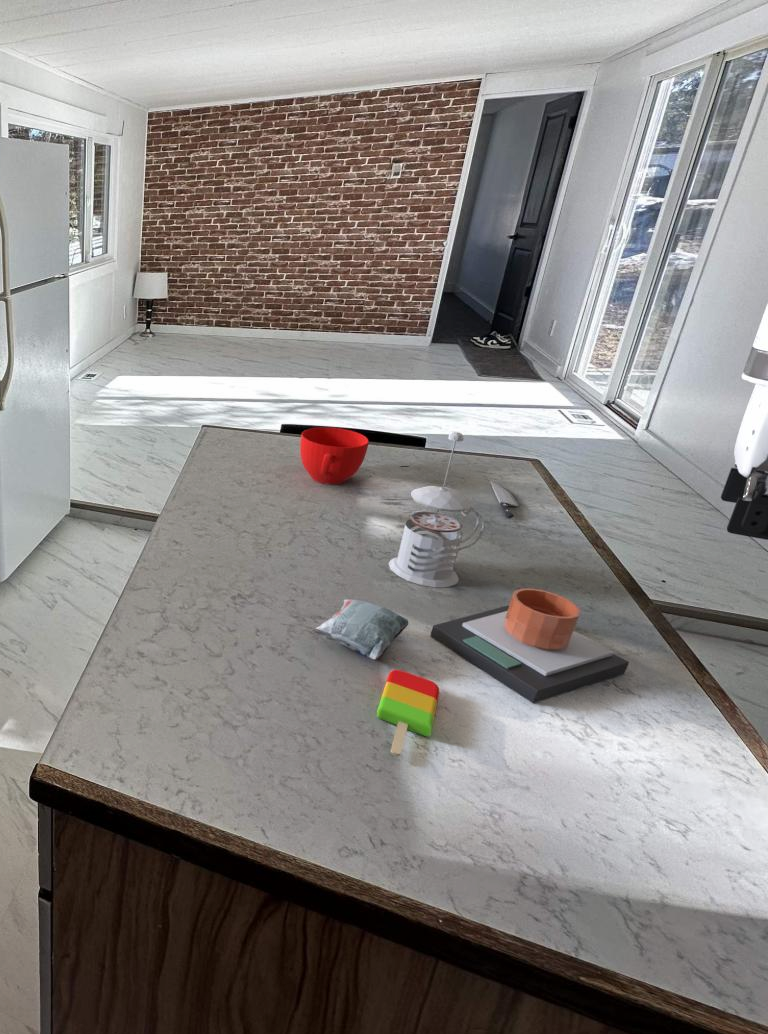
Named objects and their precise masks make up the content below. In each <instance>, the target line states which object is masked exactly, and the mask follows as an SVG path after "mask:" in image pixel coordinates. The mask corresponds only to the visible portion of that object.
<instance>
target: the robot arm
mask: <svg viewBox="0 0 768 1034" xmlns="http://www.w3.org/2000/svg"><path fill="white" fill-rule="evenodd" d="M760 321H761V322H760V323H759V326H758V329H757V332H756V335H755V338H754V341H753V344H752V346H751V348H750V350H749V354H748V358H747V360H746V362H745V366H744V369H743V372H742V374H741V379H742V380H744V381H747V382H748V383H752V384H755V385H754V388H753V390H752V393H751V396H750V397H749V401H748V403H747V406H746V409H745V412H744V414H743V418H742V420H741V423H740V426H739V430H738V433H737V436H736V441H735V444H734V450H733V455H734V467H731V468H730V470H729V473H728V476H727V478H726V481H725V484H724V486H723V489H722V492H721V495H720V499H721V501H723V502H727V503H734V504H735V505H734V508H733V510H732V513H731V515H730V517H729V521H728V523H727V526H726V531H727V532H728V533H729V534H732V535H738V536H744V537H748V538H749V537H750V538H755V539H760V540H766V541H768V302H767V304H766V306H765V309H764V312H763V315H762V317H761V320H760Z"/></svg>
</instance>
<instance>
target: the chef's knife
mask: <svg viewBox="0 0 768 1034" xmlns="http://www.w3.org/2000/svg"><path fill="white" fill-rule="evenodd" d="M490 485H491V487H492V490H493V492H494V494H495V497H496V499H497V501H498V503H499V505H500V507H501V509H502V511H503V513H504V515H505V518H507V519H512V518H514V517H515V515H514V514H513V512H511V511H510V509H509V507H519V504H518V502H517V501H516V499H515V498H514V496H513V494H512V493H511V492H510V491H508V490H507V489H506V488H504V487H502V486H501V485H499V484H497V483H495V482H493V481H490Z"/></svg>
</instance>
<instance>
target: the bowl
mask: <svg viewBox="0 0 768 1034" xmlns="http://www.w3.org/2000/svg"><path fill="white" fill-rule="evenodd" d="M508 605H509V608H508V611H507V614H506V617H505V621H504V627H505V629H506V631H507V632H508V633H509V634H511V635H512V636H513V637H514V638H516V639H517V640H519V641H521V642H523V643H525V644H527V645H530V646H533V647H536V648H540V649H548V650H553V649H555V650H559V649H563V648H566V647H568V645H569V643H570V641H571V638H572V635H573V632H574V631H576V630H575V629H576V626H577V625H578V621H579V619H580V616H581V613H582V612H581V610H580V608H579V606H578V605H577V604H575V603H574V602H573V601H571V599H568V598H566V597H564V596H561V595H560V594H557V593H553V592H550V591H547V590H542V589H537V588H520V589H517V590H516V589H515V591H514V592H513V593H512V594H511V599H510V602H509V604H508Z"/></svg>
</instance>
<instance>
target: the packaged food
mask: <svg viewBox="0 0 768 1034" xmlns="http://www.w3.org/2000/svg"><path fill="white" fill-rule="evenodd" d="M408 626H409V620H408V619H407V618H405V617H403V615H399V614H398V613H396V612H394V611H392V610H389V609H388V608H386V607H383V606H380V605H377V604H374V603H371V602H368V601H363V600H358V599H347V598H345V599H344V600H343V605H342V607H341V609H340V610H339V611H337V612H336V613H335V614H333V615H332V617H331V618H329V619H328V620H326V621H324V622H322V624H320V625H318V627H316V628H315V627H312V628H311V630H312V632H313V633H315V634H318V635H321V636H323V637H324V638H326V639H327V640H330V641H332V642H334V643H337V644H338V645H341V646H343V647H345V648H347V649H350V650H351V651H355V652H357V653H359V654H360V655H363V656H364V657H366V658H368V659H371V660H372V661H378V660H379V659H380V658H381V657H382V656H383V655H384V653H385V652H386V650H387V649H388V647H389V646H390V644H392V643H393V641H394V640H395V639H396V638H398V637H399V636H400V635H401V633H402V632H403V630H405V629H406V628H407V627H408Z"/></svg>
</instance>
